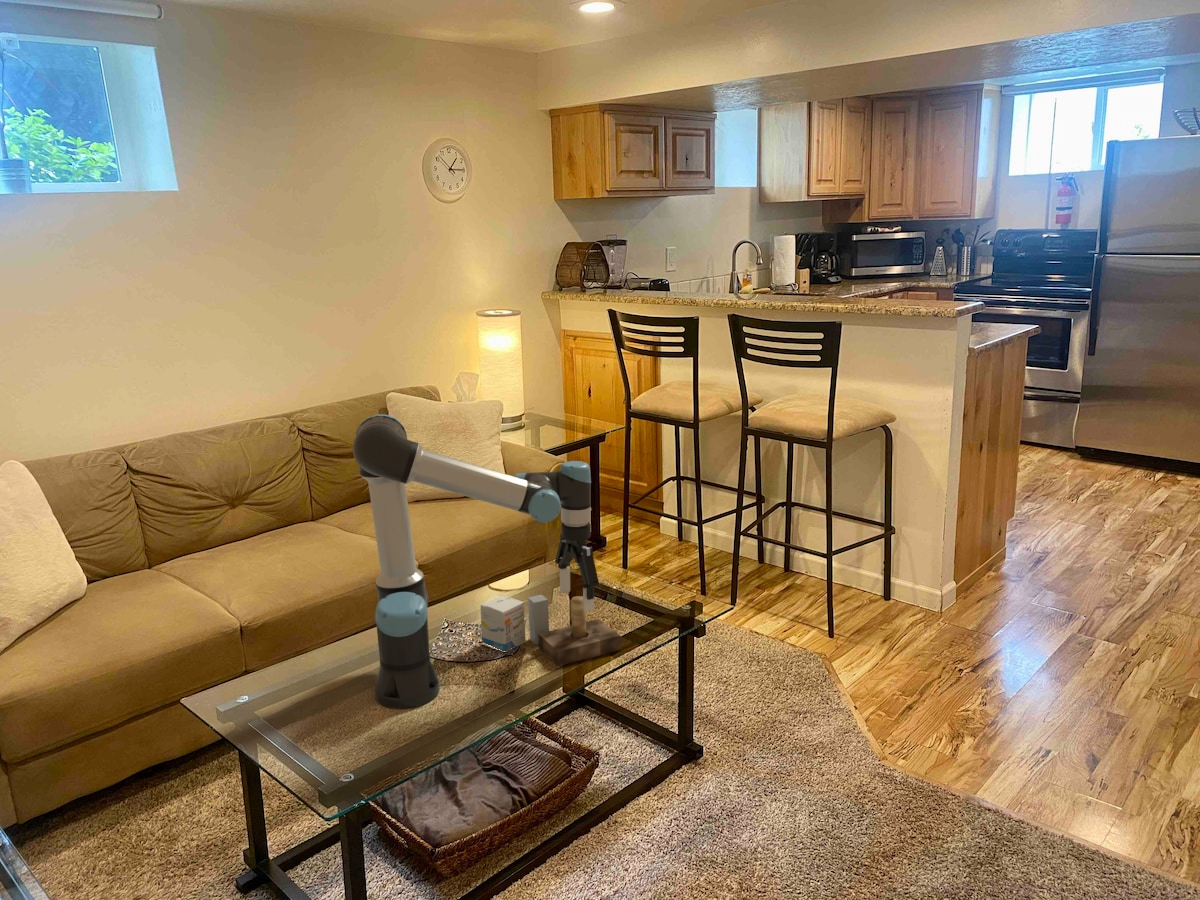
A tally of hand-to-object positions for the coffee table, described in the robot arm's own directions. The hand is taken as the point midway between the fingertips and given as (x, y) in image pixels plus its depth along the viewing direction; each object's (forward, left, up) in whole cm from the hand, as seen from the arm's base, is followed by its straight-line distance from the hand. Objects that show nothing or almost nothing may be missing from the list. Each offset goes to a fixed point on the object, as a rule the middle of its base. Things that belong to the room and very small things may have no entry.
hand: (576, 600), depth 229 cm
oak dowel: (0, 0, -14) cm, 14 cm away
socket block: (0, 0, -14) cm, 14 cm away
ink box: (-16, +13, -14) cm, 24 cm away
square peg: (-7, +10, -14) cm, 18 cm away
